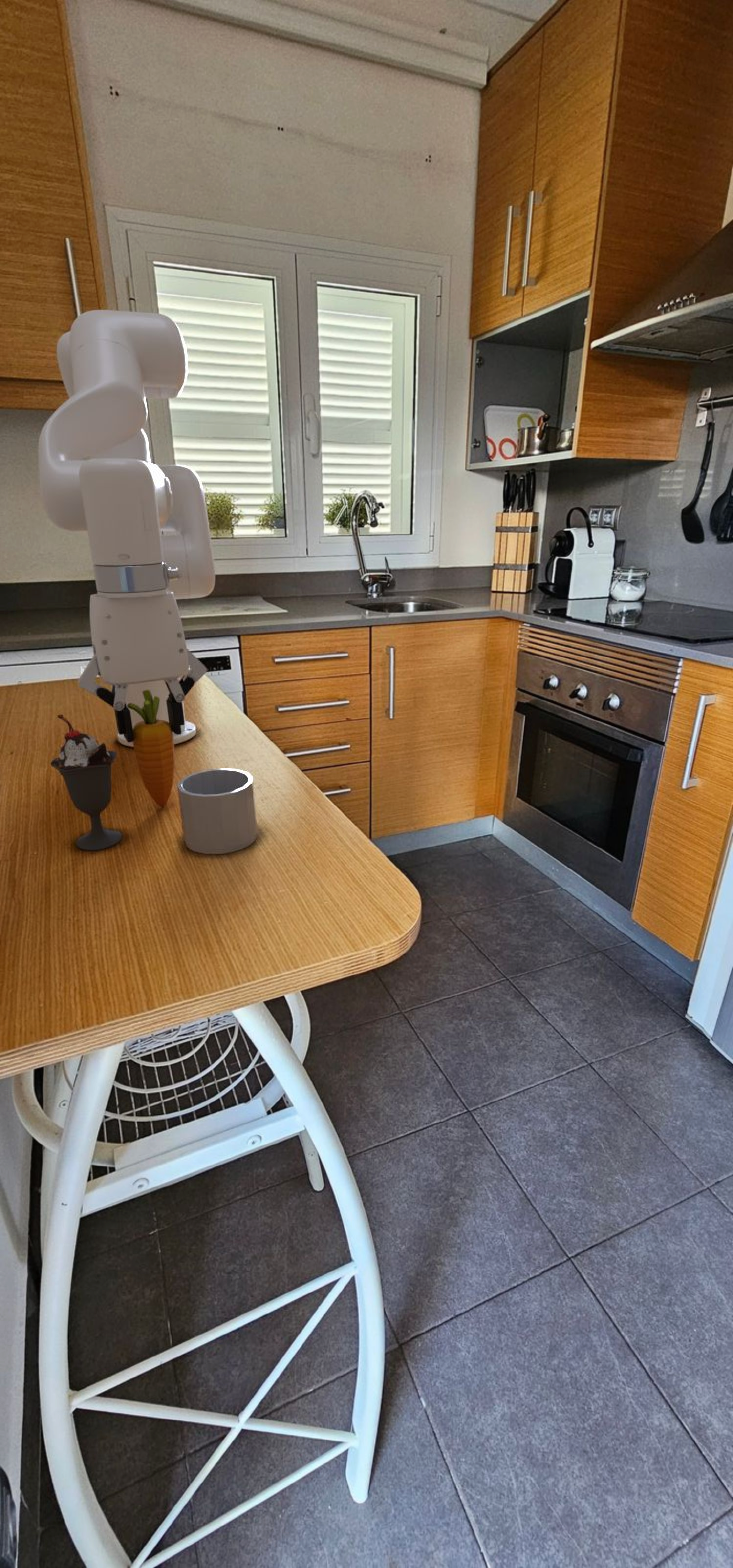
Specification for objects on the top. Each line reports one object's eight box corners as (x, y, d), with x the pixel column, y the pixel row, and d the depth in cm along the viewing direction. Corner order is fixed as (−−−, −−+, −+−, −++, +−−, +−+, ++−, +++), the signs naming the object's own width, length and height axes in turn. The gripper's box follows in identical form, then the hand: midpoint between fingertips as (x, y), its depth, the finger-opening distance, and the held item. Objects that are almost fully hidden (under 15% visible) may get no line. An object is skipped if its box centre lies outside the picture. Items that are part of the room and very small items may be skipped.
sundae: (66, 834, 79) (42, 711, 74) (126, 824, 82) (107, 703, 76) (68, 859, 74) (41, 727, 68) (132, 847, 76) (111, 719, 71)
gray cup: (177, 831, 80) (169, 776, 77) (243, 817, 83) (239, 763, 81) (195, 861, 73) (188, 801, 70) (267, 843, 77) (263, 786, 74)
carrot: (171, 816, 84) (155, 698, 78) (134, 813, 85) (116, 696, 79) (189, 800, 88) (175, 688, 82) (154, 798, 89) (138, 686, 83)
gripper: (197, 574, 83) (212, 717, 89) (45, 582, 75) (74, 738, 82) (215, 579, 76) (229, 732, 83) (52, 589, 69) (82, 756, 76)
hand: (152, 733), depth 83 cm, fingers closed on carrot, 5 cm apart
